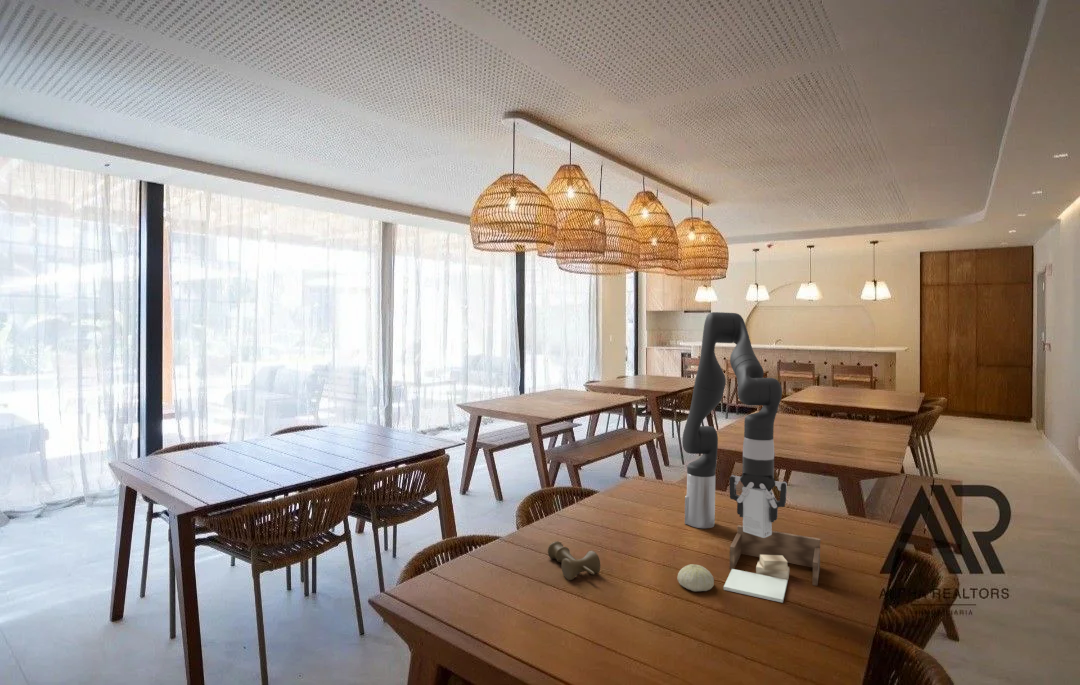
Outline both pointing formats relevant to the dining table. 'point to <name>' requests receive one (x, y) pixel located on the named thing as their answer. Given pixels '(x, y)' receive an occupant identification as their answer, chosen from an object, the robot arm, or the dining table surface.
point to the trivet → (756, 585)
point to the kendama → (573, 561)
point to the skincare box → (757, 513)
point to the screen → (778, 548)
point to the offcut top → (773, 562)
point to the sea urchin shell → (695, 578)
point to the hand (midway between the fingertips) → (757, 518)
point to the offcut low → (772, 572)
